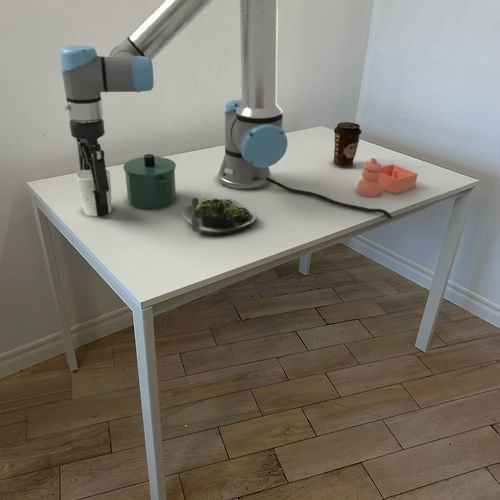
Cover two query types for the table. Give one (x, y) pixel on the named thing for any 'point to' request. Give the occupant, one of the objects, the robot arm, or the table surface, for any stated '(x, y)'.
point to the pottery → (385, 179)
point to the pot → (151, 191)
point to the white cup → (90, 192)
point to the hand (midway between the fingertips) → (97, 208)
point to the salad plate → (218, 217)
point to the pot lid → (149, 166)
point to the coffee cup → (346, 143)
